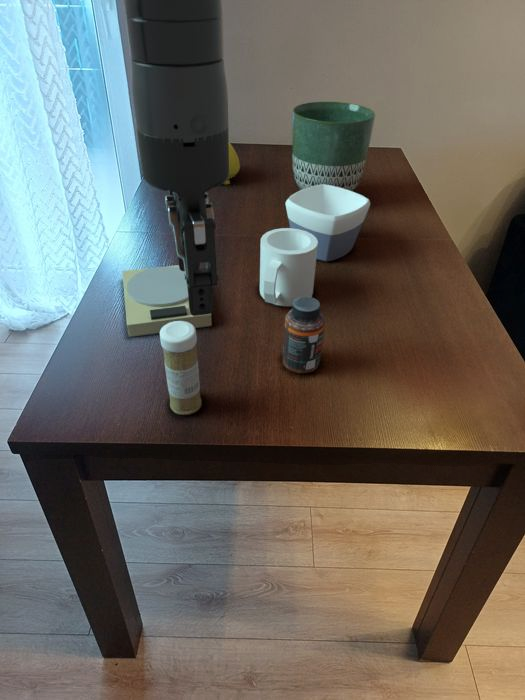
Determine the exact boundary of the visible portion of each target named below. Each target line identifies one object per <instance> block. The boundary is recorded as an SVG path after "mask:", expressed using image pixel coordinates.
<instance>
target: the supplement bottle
mask: <svg viewBox="0 0 525 700" xmlns="http://www.w3.org/2000/svg"><path fill="white" fill-rule="evenodd" d="M325 324H326V320H325V315H324V314H323V313H322V312H321V302H320V301H319V300H318V299H316V298H314V297H313V296H312V297H299V298H296V299H295V300H294V301H293V306H291V309H290V310H289V311H288V312H287V313H286V315H285V318H284V327H283V329H284V330H283V343H282V344H283V345H282V364H283V366H284V367H285V368H286V370H289V371H290V372H293V373H296V374H309V373H312V372H314V371H316V370H317V369H318V367H319V366H320V363H321V359H322V358H321V356H322V349H323V339H324V332H325Z"/></svg>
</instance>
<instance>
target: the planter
mask: <svg viewBox="0 0 525 700" xmlns="http://www.w3.org/2000/svg"><path fill="white" fill-rule="evenodd" d="M291 117H292V118H291V119H292V120H291V122H292V128H291V129H292V131H291V132H292V133H291V135H292V136H291V137H292V138H291V141H292V142H291V157H292V158H291V160H292V161H291V163H292V164H291V165H292V174H293V177H294V182H295V184H296V186H297V187H298V189H299V191H300V190H302V189H305V188H308V187H312V186H315V185H321V184H325V185H331V186H336V187H340V188H343V189H346V190H350V191H352V192H354V191H355V190H356V189H357V187H358V186H359V184H360V182H361V180H362V178H363V175H364V171H365V167H366V163H367V158H368V153H369V148H370V144H371V138H372V134H373V130H374V124H375V120H376V119H375V118H376V113H375V111H374V110H372V109H371V108H368V107H366V106H363V105H359V104H355V103H349V102H341V101H311V102H305V103H300V104H298V105H295V106H294V107H293V108H292V116H291Z"/></svg>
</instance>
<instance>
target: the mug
mask: <svg viewBox="0 0 525 700" xmlns="http://www.w3.org/2000/svg"><path fill="white" fill-rule="evenodd" d="M317 246H318V241H317V238H316V237H315V236H314V235H312V234H311V233H309V232H307V231H303V230H300V229H293V228H290V227H280V228H274V229H271V230H269V231H266V232H265V233H264V234H262V236H261V237H260V250H259V251H260V252H259V253H260V254H259V255H260V256H259V257H260V258H259V295H260V296H261V297H262V299H263V300H264V302H265V303H269V304H272V305H275V306H280V307H292V306H293V301H294V300H295V299H296V298H299V297H312V298H313V294H314V285H315V276H316V266H317V265H316V264H317V259H316V256H317Z"/></svg>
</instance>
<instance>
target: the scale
mask: <svg viewBox="0 0 525 700" xmlns="http://www.w3.org/2000/svg"><path fill="white" fill-rule="evenodd" d="M121 273H122V282H123V283H122V285H123V294H124V295H123V296H124V308H125V318H126V329H127V333H128V337H129V338H133V337H138V336H139V337H140V336H148V335H154V334H155V335H156V334H160V330H161V329H162V327H163V326H164V325H166V324H168V323H170V322H174V321H185V322H188V323H190V324H192V325H193V326H194V327H195V329H199V328H205V327H211V326H212V324H213V323H212V322H213V321H212V313H211V314H206V315H198V316H193V315H191V313H190V310H189V300H188V289H187V282H186V280H185V279H184V274H185V271H181V270H180V268H179V264H176V265H167V266H166V265H165V266H156V267H148V268H138V269H129V270H123V271H121Z"/></svg>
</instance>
